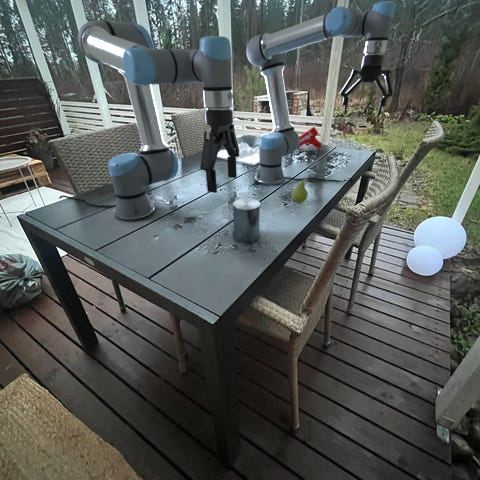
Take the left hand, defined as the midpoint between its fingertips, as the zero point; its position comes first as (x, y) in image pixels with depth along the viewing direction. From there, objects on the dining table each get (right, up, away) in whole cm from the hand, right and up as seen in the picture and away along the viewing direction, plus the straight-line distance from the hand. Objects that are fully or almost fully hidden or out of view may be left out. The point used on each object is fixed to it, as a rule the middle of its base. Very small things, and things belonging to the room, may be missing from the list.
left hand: (222, 184), depth 84 cm
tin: (+8, -16, +14) cm, 22 cm away
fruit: (+32, 0, +38) cm, 49 cm away
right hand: (+57, +37, +32) cm, 76 cm away
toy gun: (+54, +50, +115) cm, 137 cm away
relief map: (+8, +40, +100) cm, 108 cm away
